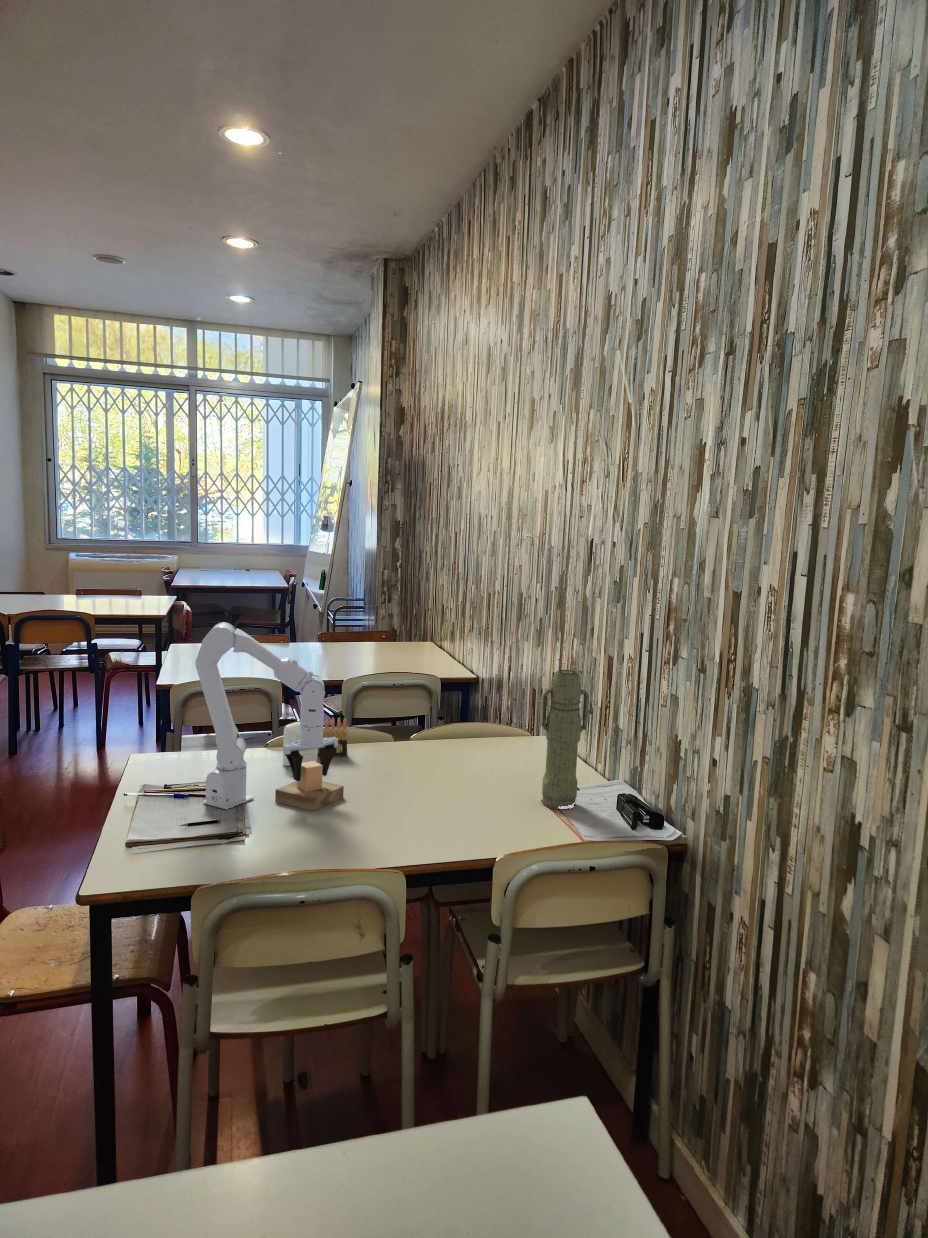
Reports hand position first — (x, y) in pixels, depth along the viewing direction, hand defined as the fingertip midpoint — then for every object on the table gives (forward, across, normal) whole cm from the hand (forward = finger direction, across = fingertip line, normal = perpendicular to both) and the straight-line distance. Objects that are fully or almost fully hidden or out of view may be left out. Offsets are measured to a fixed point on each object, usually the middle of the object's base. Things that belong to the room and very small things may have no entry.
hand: (310, 777), depth 199 cm
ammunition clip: (+6, -24, -30) cm, 39 cm away
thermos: (+6, -51, +38) cm, 64 cm away
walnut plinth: (+6, 0, 0) cm, 6 cm away
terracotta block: (+3, 0, 0) cm, 3 cm away
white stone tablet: (+6, -13, -28) cm, 31 cm away
